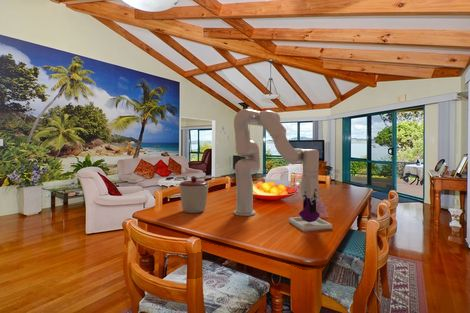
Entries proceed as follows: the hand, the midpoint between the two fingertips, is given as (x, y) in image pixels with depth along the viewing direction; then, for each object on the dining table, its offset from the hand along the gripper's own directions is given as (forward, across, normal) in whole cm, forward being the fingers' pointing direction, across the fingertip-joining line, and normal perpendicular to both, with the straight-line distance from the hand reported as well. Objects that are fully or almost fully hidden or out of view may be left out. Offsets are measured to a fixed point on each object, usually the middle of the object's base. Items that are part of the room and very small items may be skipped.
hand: (309, 209), depth 127 cm
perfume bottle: (+6, 0, 0) cm, 6 cm away
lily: (+8, -13, +14) cm, 21 cm away
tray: (+8, 0, 0) cm, 8 cm away
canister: (+8, -41, -53) cm, 67 cm away
